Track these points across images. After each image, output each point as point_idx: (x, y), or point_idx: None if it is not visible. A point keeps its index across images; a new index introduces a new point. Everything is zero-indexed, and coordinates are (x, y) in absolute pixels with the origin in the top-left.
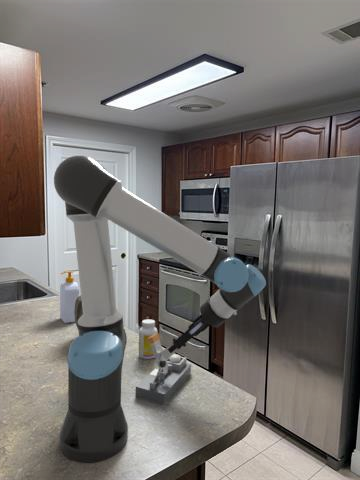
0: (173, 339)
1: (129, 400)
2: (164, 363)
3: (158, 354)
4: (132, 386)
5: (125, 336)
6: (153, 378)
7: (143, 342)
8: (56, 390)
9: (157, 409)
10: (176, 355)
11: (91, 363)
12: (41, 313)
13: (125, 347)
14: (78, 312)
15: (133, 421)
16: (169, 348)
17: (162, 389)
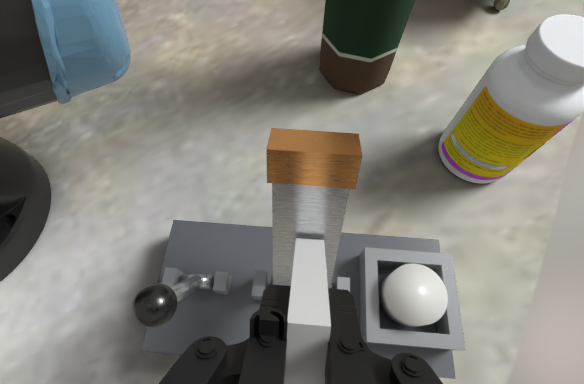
0: (251, 323)
1: (160, 224)
2: (137, 320)
3: (279, 234)
4: (244, 197)
5: (29, 20)
6: (252, 256)
7: (468, 109)
8: (165, 45)
9: (125, 336)
10: (434, 296)
11: None
12: None
13: (50, 81)
14: None
15: (46, 286)
16: (262, 298)
17: (176, 326)
